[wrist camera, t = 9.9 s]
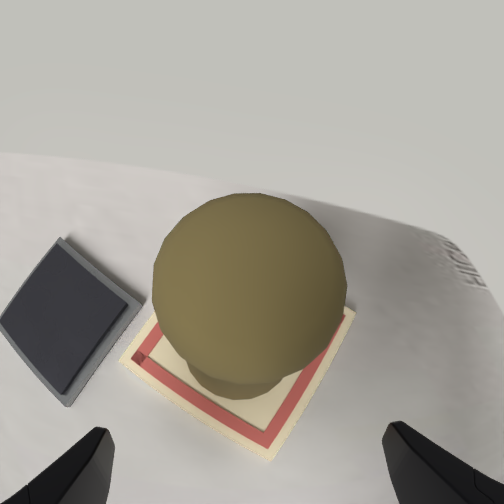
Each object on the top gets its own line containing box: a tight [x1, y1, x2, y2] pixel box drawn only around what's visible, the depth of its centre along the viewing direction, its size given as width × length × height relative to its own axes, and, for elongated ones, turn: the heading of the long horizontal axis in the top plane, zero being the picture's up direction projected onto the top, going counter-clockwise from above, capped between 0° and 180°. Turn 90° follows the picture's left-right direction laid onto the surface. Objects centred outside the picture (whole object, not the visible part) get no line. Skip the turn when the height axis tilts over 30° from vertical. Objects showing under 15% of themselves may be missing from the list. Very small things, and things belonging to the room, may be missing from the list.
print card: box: [118, 306, 356, 461], centre depth 17 cm, size 10×10×1 cm
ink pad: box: [0, 237, 142, 407], centre depth 16 cm, size 8×8×1 cm
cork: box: [152, 193, 347, 400], centre depth 12 cm, size 6×6×11 cm
